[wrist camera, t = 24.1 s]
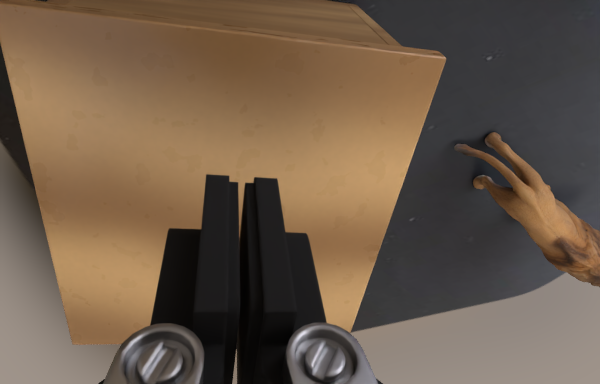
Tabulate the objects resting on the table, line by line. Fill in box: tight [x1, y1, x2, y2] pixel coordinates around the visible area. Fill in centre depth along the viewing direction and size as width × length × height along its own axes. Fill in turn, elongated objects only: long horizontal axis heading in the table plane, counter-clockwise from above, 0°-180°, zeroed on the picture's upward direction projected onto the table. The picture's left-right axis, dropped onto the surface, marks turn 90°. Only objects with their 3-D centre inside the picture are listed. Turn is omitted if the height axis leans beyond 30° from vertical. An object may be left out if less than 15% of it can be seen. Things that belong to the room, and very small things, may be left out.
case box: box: [47, 0, 402, 47], centre depth 24 cm, size 15×14×12 cm
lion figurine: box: [454, 132, 600, 287], centre depth 32 cm, size 15×5×9 cm, turn 57°
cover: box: [0, 0, 446, 345], centre depth 19 cm, size 16×14×1 cm
